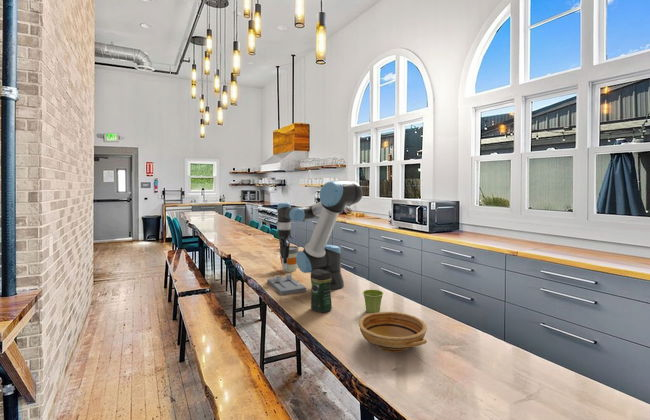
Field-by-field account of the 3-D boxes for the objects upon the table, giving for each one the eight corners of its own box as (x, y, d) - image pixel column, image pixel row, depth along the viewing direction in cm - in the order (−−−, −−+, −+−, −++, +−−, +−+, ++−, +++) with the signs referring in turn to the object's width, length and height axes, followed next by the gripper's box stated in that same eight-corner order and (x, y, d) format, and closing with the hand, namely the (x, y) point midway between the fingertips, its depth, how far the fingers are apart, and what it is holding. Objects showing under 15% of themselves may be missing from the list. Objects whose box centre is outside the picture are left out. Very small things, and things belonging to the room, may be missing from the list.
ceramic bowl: (341, 338, 136) (341, 317, 136) (389, 323, 149) (389, 305, 148) (395, 373, 111) (395, 348, 111) (447, 352, 124) (448, 330, 123)
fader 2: (291, 279, 208) (291, 274, 207) (286, 280, 206) (286, 274, 206) (290, 278, 209) (290, 273, 209) (285, 279, 208) (285, 273, 208)
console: (306, 291, 193) (306, 287, 193) (281, 295, 187) (281, 291, 187) (289, 279, 217) (289, 275, 217) (267, 282, 211) (267, 278, 211)
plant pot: (385, 309, 166) (385, 290, 165) (380, 316, 157) (380, 297, 156) (366, 306, 170) (366, 288, 169) (359, 313, 161) (359, 294, 160)
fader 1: (280, 281, 204) (280, 275, 204) (275, 282, 203) (275, 276, 202) (279, 280, 206) (279, 275, 205) (274, 281, 204) (274, 275, 204)
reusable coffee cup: (298, 272, 232) (297, 249, 231) (278, 272, 232) (278, 249, 231) (299, 267, 244) (299, 246, 243) (281, 268, 245) (280, 246, 243)
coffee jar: (334, 310, 165) (334, 270, 164) (321, 314, 160) (321, 273, 158) (321, 304, 173) (320, 266, 171) (308, 308, 167) (307, 269, 166)
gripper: (274, 228, 216) (275, 266, 218) (281, 231, 204) (282, 271, 206) (286, 227, 219) (286, 265, 221) (294, 230, 207) (294, 270, 209)
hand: (284, 268), depth 214 cm, fingers closed
